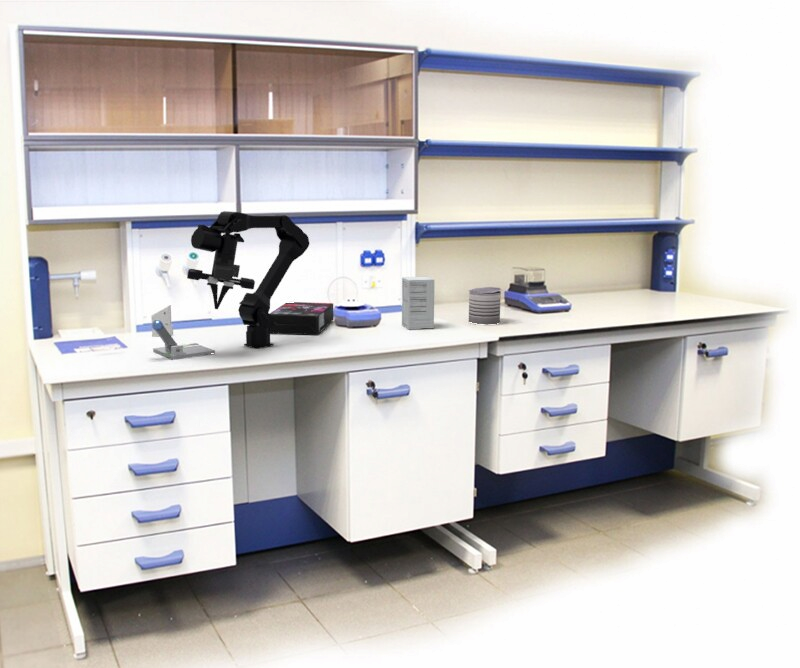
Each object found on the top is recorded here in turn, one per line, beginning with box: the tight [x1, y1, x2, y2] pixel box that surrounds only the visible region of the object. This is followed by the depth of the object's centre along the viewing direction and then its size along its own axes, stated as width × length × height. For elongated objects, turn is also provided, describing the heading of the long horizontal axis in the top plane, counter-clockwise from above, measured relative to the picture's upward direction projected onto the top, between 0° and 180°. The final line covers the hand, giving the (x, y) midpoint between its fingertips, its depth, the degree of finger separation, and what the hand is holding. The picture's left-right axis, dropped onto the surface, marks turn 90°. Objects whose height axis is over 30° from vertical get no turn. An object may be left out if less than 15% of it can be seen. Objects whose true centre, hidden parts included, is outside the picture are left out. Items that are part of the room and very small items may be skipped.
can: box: [468, 286, 502, 325], centre depth 298 cm, size 11×11×12 cm
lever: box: [151, 320, 178, 351], centre depth 236 cm, size 3×3×10 cm
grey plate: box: [150, 304, 174, 338], centre depth 269 cm, size 4×10×9 cm, turn 92°
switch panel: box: [152, 342, 216, 360], centre depth 244 cm, size 13×13×4 cm
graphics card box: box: [269, 301, 335, 336], centre depth 286 cm, size 17×7×27 cm
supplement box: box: [401, 276, 435, 330], centre depth 287 cm, size 10×9×17 cm
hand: (216, 309), depth 241 cm, fingers closed
